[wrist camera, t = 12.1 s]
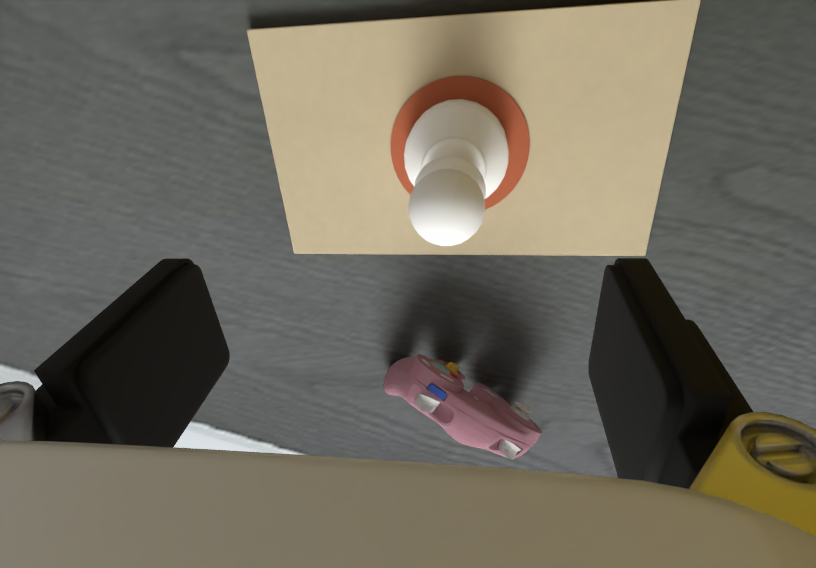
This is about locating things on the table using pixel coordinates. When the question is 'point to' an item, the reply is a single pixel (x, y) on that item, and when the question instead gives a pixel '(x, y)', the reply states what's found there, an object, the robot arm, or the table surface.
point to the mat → (505, 97)
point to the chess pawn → (453, 169)
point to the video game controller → (462, 406)
